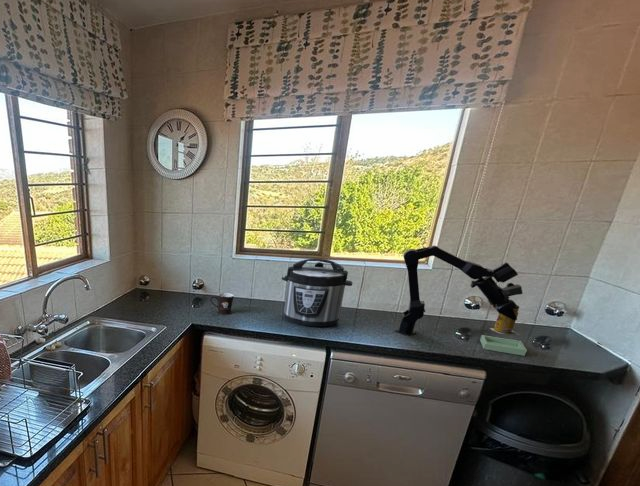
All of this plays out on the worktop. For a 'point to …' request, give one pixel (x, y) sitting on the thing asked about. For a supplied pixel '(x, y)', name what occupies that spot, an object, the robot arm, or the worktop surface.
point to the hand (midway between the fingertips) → (513, 318)
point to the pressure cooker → (315, 293)
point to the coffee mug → (224, 302)
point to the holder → (503, 345)
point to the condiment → (505, 323)
